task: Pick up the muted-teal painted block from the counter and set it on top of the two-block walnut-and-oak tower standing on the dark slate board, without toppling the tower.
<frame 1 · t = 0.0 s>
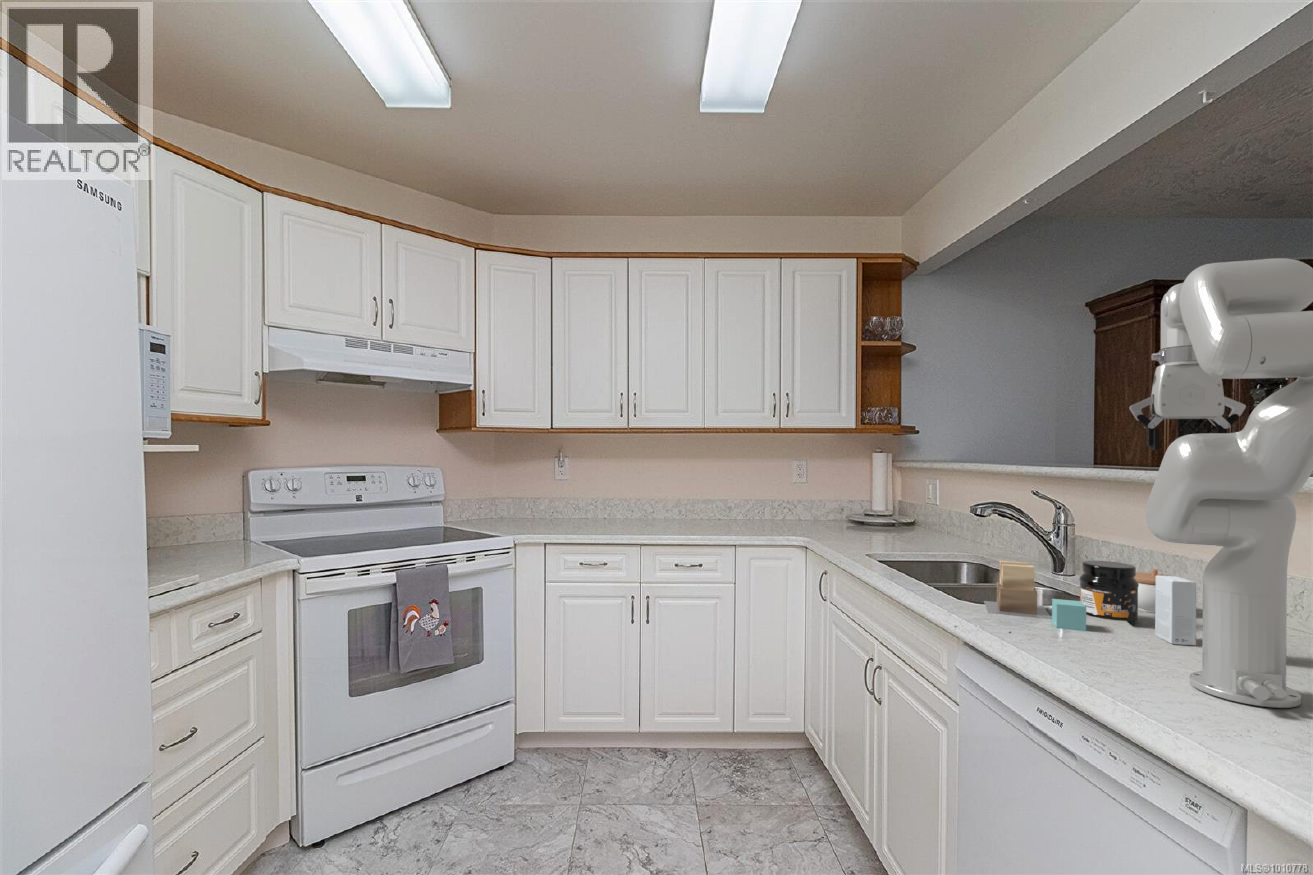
hand: (1185, 450, 122), 37 cm above the worktop, tool pointing down, fingers open, 9 cm apart
skincare box: (1175, 641, 126), on the worktop
slate board: (1016, 614, 145), on the worktop
oak mid block: (1016, 586, 145), point 6 cm above the worktop, touching walnut base block
walnut base block: (1016, 609, 145), point 1 cm above the worktop, touching oak mid block, slate board
supplement container: (1108, 620, 142), on the worktop
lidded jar: (1154, 611, 150), on the worktop
teal block: (1068, 632, 131), on the worktop
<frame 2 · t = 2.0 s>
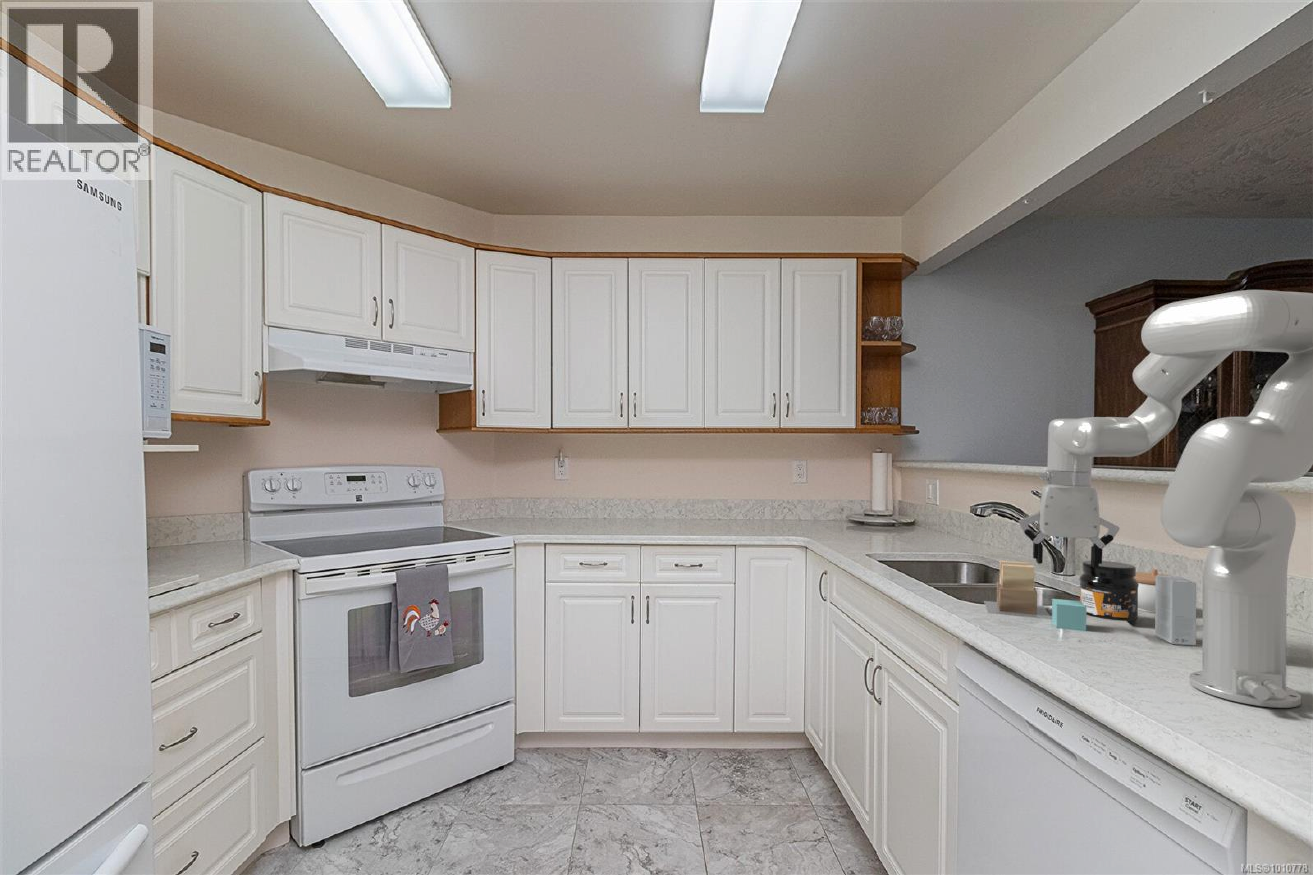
hand: (1066, 564, 132), 13 cm above the worktop, tool pointing down, fingers open, 9 cm apart
nothing on the worktop moved.
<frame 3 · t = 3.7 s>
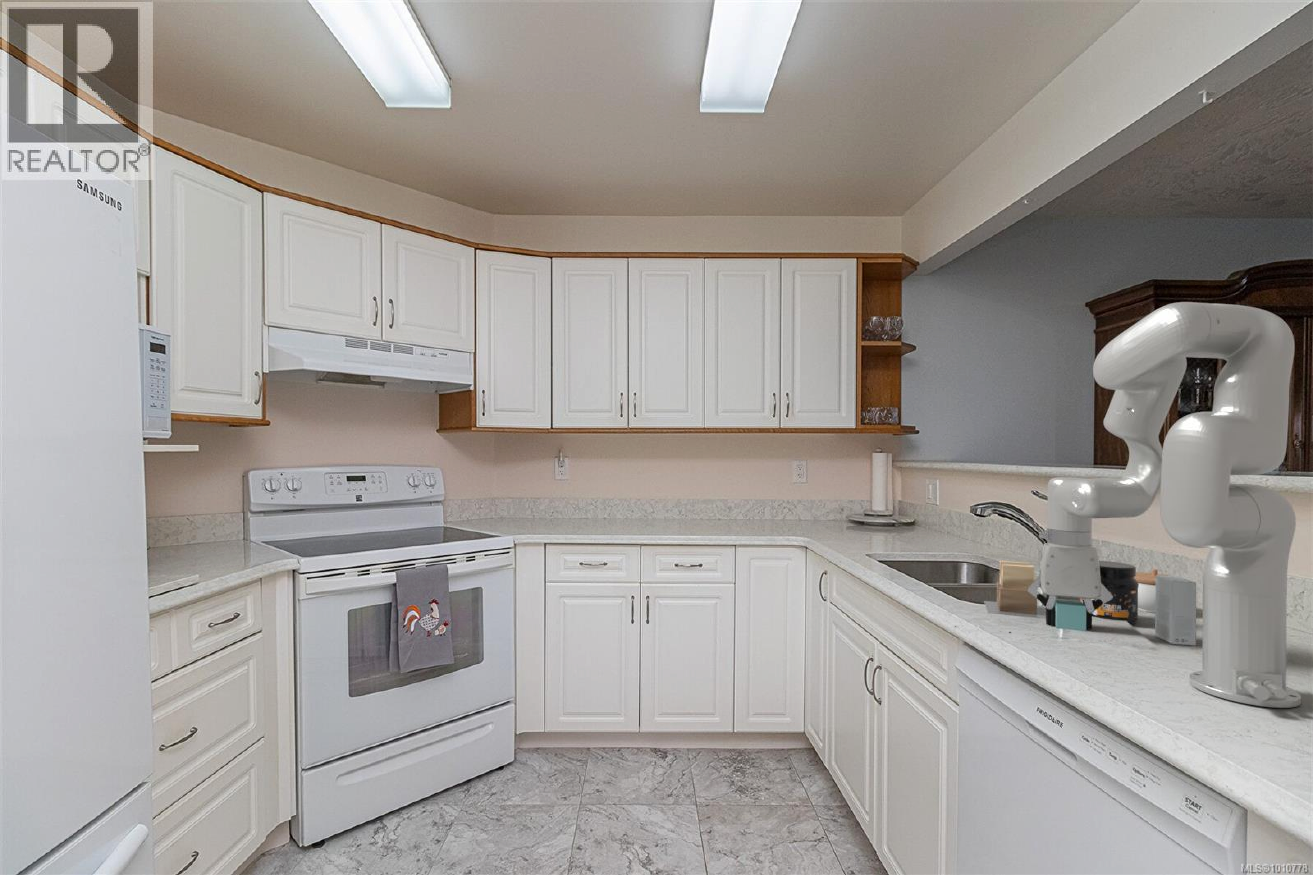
hand: (1068, 628, 131), 1 cm above the worktop, tool pointing down, fingers closed on teal block, 5 cm apart
teal block: (1068, 632, 131), on the worktop, touching gripper
everything else where it was.
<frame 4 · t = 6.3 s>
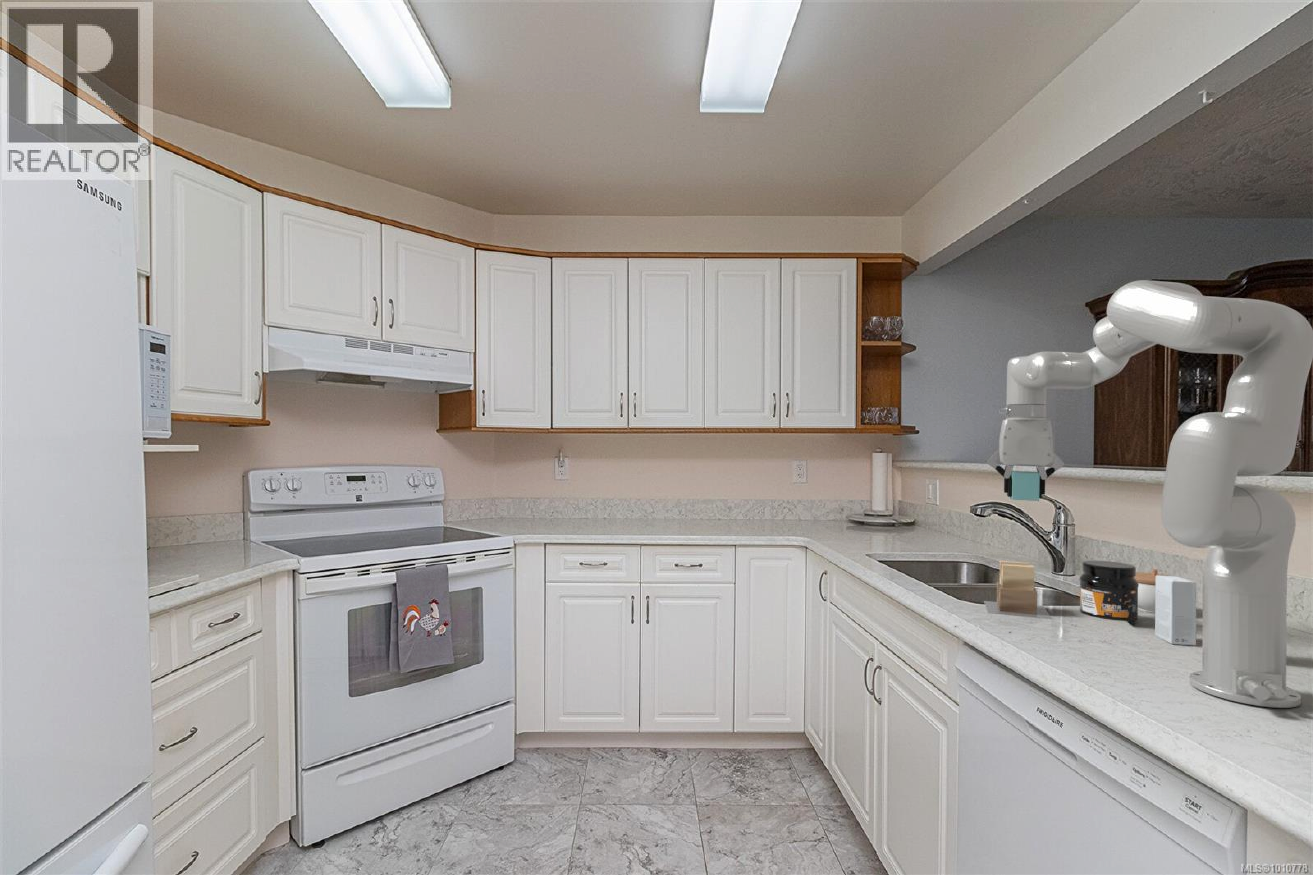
hand: (1024, 496, 143), 26 cm above the worktop, tool pointing down, fingers closed on teal block, 5 cm apart
teal block: (1024, 499, 143), point 26 cm above the worktop, touching gripper
everything else where it was.
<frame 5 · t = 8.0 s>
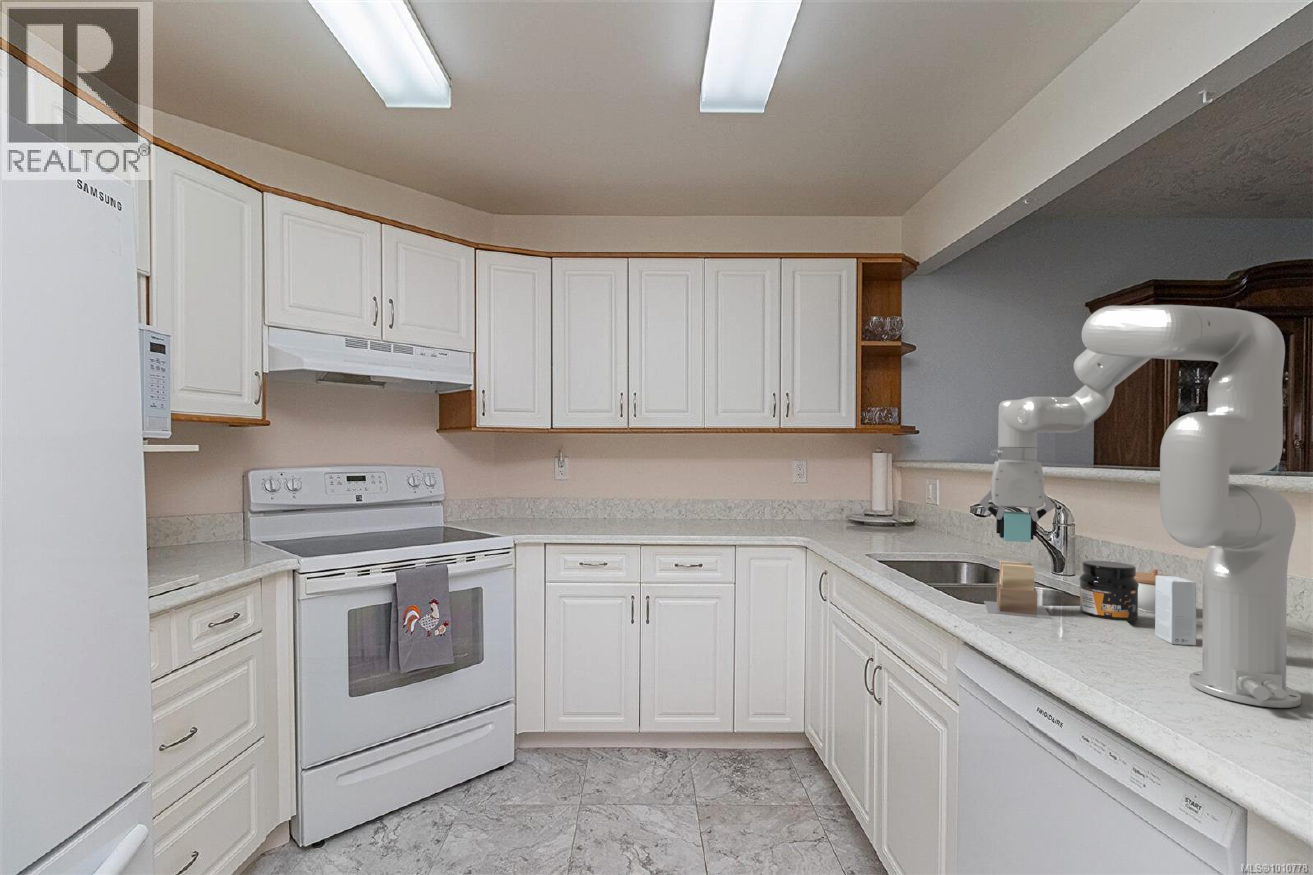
hand: (1016, 537, 145), 17 cm above the worktop, tool pointing down, fingers closed on teal block, 5 cm apart
teal block: (1016, 540, 145), point 16 cm above the worktop, touching gripper
everything else where it was.
when the fingers open (13 cm above the worktop, at t = 9.2 s): teal block drops 1 cm, resting on oak mid block.
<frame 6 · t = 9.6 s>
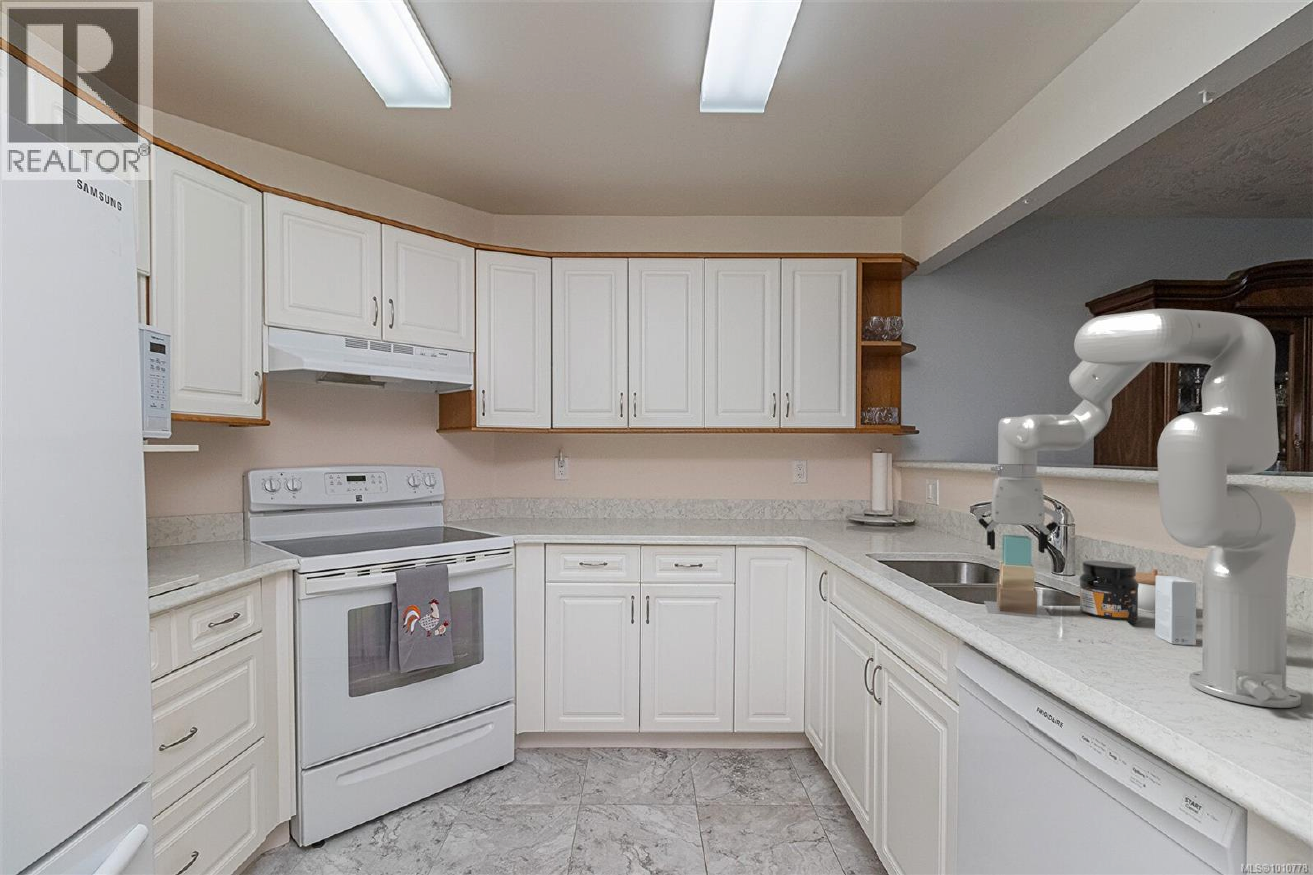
hand: (1016, 550, 145), 14 cm above the worktop, tool pointing down, fingers open, 9 cm apart
oak mid block: (1016, 586, 145), point 6 cm above the worktop, touching teal block, walnut base block
teal block: (1016, 564, 145), point 11 cm above the worktop, touching oak mid block
everything else where it was.
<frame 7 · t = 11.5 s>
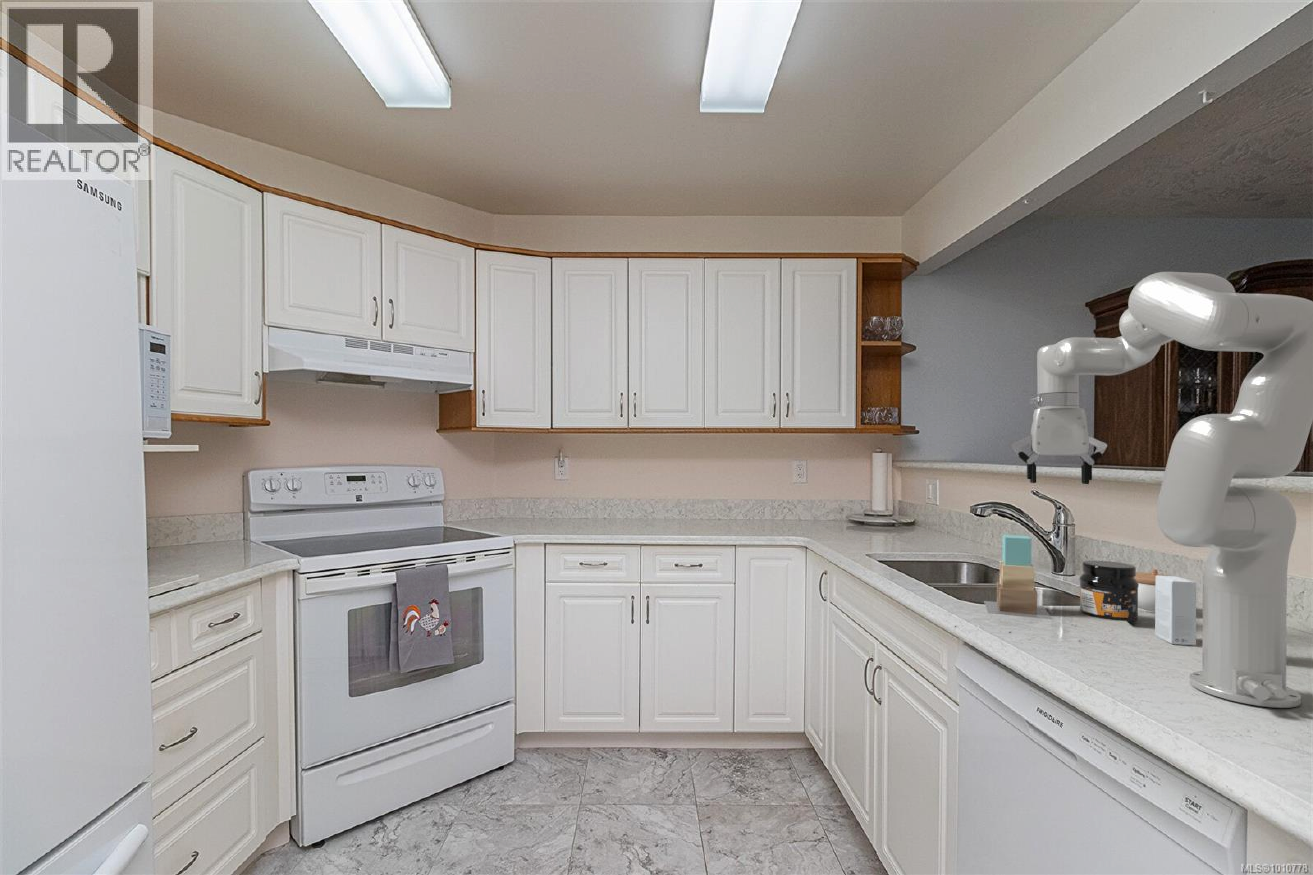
hand: (1058, 483, 139), 29 cm above the worktop, tool pointing down, fingers open, 9 cm apart
nothing on the worktop moved.
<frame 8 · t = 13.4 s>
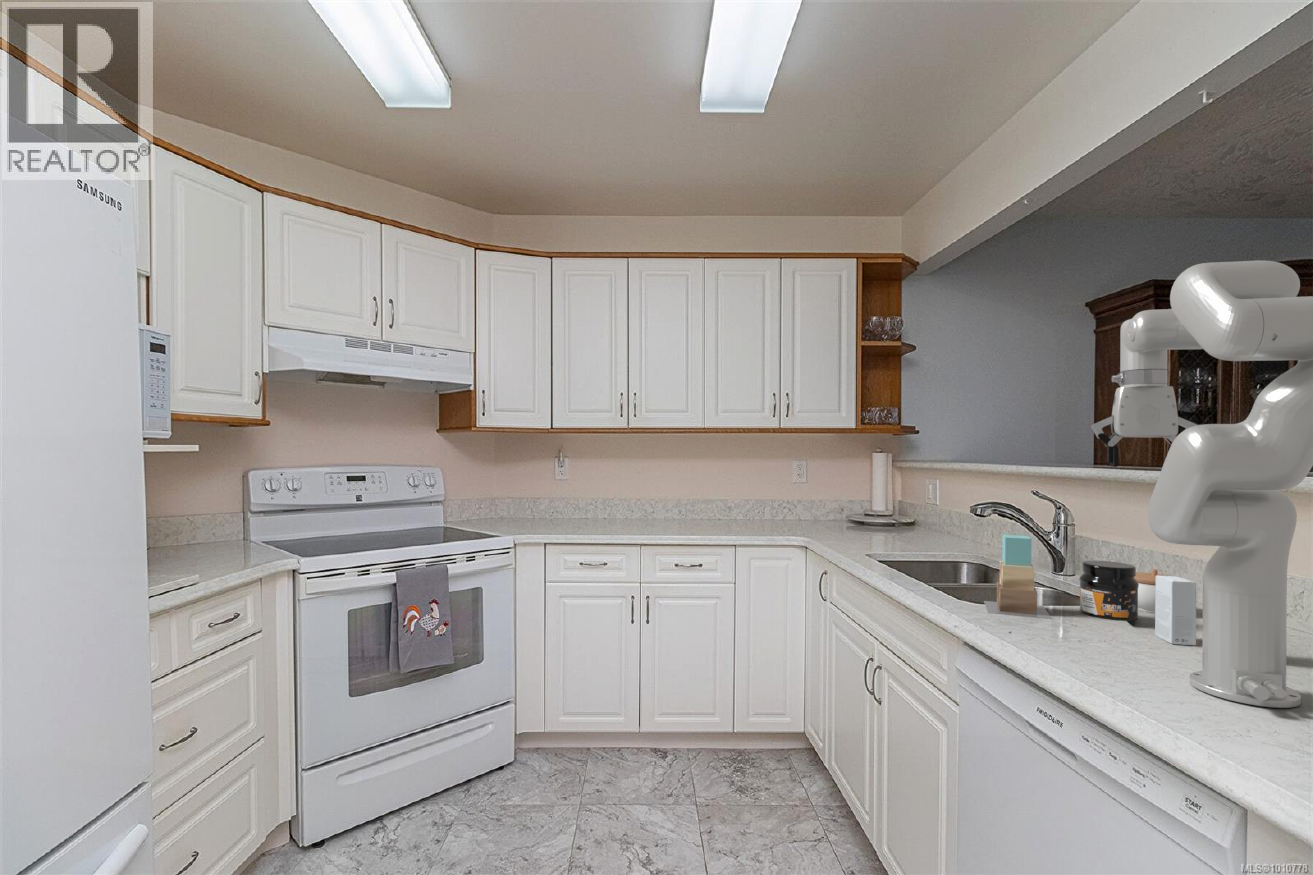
hand: (1142, 467, 130), 33 cm above the worktop, tool pointing down, fingers open, 9 cm apart
nothing on the worktop moved.
at the end: teal block 0.0 cm off-centre on the oak mid block, point 5.0 cm above the oak mid block's base; oak mid block tilted 0°; walnut base block moved 0.1 cm from its start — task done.
